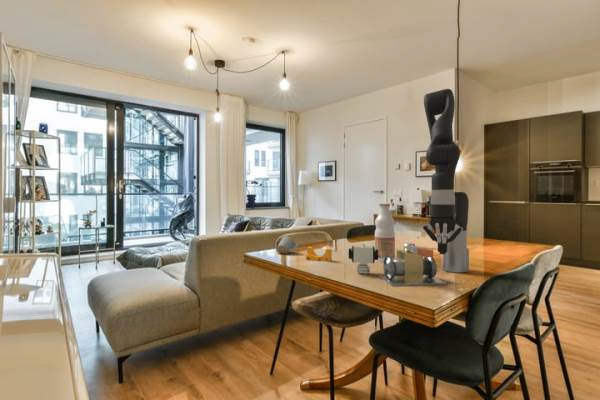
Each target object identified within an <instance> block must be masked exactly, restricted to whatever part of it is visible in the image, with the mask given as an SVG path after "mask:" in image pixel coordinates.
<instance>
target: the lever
mask: <svg viewBox="0 0 600 400" xmlns="http://www.w3.org/2000/svg"><path fill="white" fill-rule="evenodd" d="M403 250H404V251H412V252H414V253H417V254H418V255H421V256H423V258H425V257H426V258H430V257H433V258H434V250H433V249H430V248H427V247H420V246H418V245H416V244H415V243H412V242H406V243H404V242H403Z"/></svg>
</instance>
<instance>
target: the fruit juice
mask: <svg viewBox="0 0 600 400" xmlns="http://www.w3.org/2000/svg"><path fill="white" fill-rule="evenodd" d="M390 207H391V204H390V203H380V204H379V211H378V215H377V217H376V218H375V221H374V225H375V230H374V248H375V249H378V260H375V261H374V262H378V263H382V264H384V259H385V258H386V257H391V258H392V259H393V260H396V254H395V252H396V251H395V250H396V249H395V248H396V247H395V246H396V245H395V244H396V243H395V241H396V233H395V229H394V228H395V227H394V226H395V219H394V217H393V216H392V213H391V209H390Z"/></svg>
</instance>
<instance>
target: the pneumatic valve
mask: <svg viewBox="0 0 600 400" xmlns="http://www.w3.org/2000/svg"><path fill="white" fill-rule="evenodd" d="M348 260H350V261H351V262H352V263H357V265H356V272H357V273H358V274H359V275H368V274H369V273H370V272H371V269H370V268H371V267H370V265H368V264H375V262H376V261H375V260H378V249H375V245H365V243H361V245H351V248H348ZM358 263H359V264H358Z"/></svg>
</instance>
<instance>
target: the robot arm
mask: <svg viewBox="0 0 600 400" xmlns="http://www.w3.org/2000/svg"><path fill="white" fill-rule="evenodd" d="M454 95H455V94H454V92H453V90H452V89H451V88H443V89H440V90H437V91H433V92H430V93H426V94H425V95H424V96H423V106H424V110H425V117H426V121H427V125H428V131H429V135H430V144H429V146H428V147H427V150H426V153H425V161H426V162H427V164H429V165H430V166H434V171H435V173H433V174H432V175H431V193H430V219H429V221H428V224H425V225H424V226H423V227H422V229H423V230H424V231H425V233H426V234H427V236H428V237H429V238H430V239H431V240H432V241H433V242H436V243H437V252H438V253H439V255H442V270H443V271H445V272H450V273H459V274H460V273H466V272H470V248H468V242H467V241H468V233H467V232H468V222H469V207H470V205H469V204H470V203H469V201H470V200H469V197H468V194H467V193H466V192H463V191H455V175H456V169H457V166H458V163H459V160H460V157H461V149H460V147H459V146H458V145H457V144H456V142H455V141H454V134H453V133H454V132H453V122H454V115H455V109H456V108H455V107H456V104H455V101H456V100H455V96H454ZM438 115H440V116H439V117H438V118H437V119H436V116H438ZM432 229H433V230H434V231H433V230H432ZM434 232H435V233H434Z"/></svg>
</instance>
